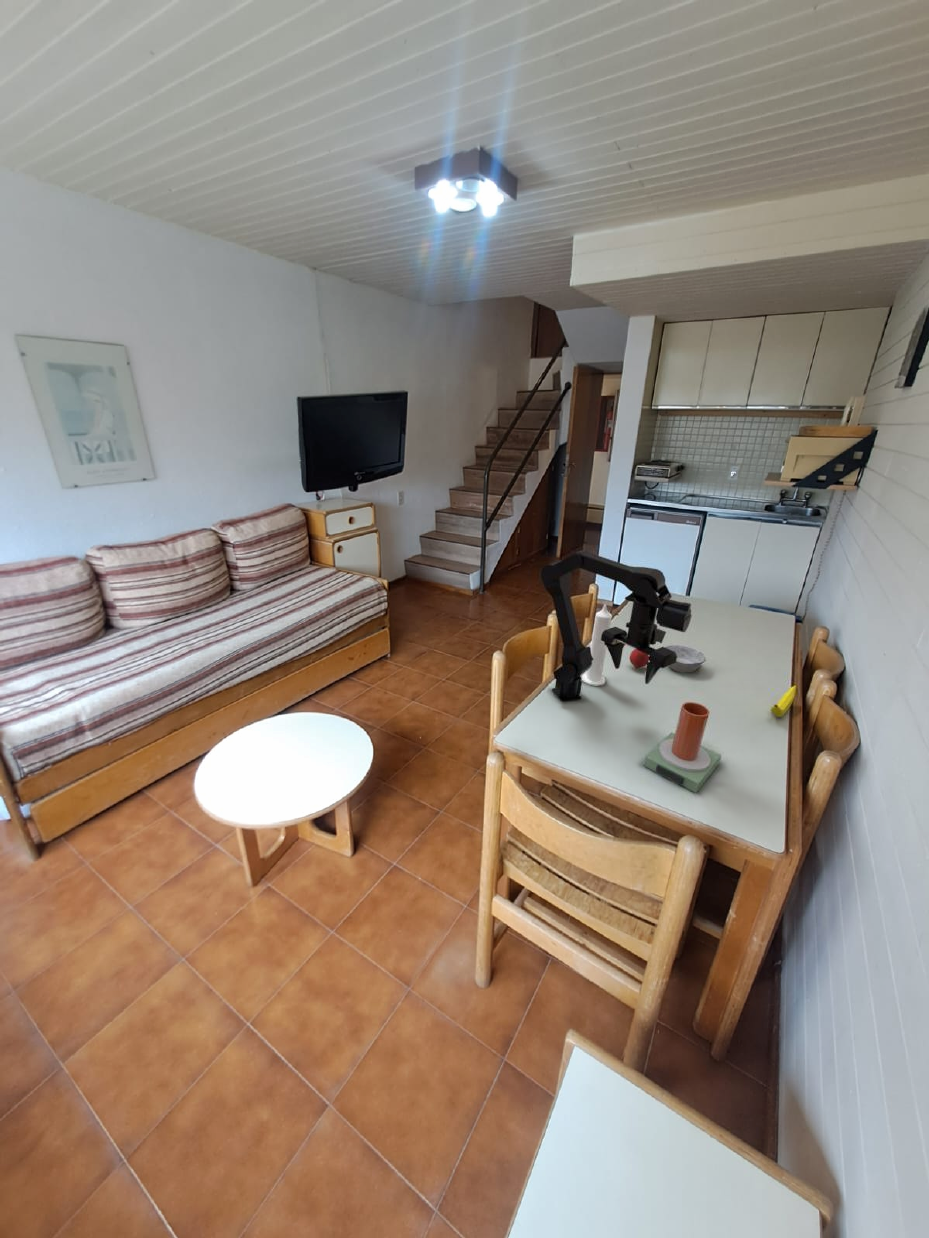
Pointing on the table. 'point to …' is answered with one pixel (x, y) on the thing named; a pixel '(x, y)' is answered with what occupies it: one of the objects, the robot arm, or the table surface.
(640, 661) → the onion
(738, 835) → the table surface
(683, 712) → the tumbler
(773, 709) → the banana
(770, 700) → the table surface
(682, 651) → the bowl
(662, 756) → the scale
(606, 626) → the candle
